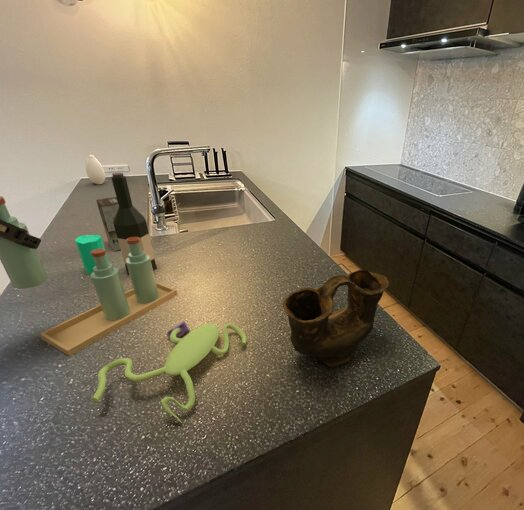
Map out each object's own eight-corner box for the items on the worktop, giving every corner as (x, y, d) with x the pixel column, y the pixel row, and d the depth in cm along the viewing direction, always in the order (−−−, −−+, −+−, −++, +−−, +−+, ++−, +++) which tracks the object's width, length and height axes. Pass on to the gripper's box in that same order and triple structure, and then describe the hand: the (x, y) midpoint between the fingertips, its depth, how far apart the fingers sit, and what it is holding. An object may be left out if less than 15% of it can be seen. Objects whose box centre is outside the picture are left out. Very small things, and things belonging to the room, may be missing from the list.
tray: (70, 357, 63) (67, 350, 63) (42, 340, 67) (39, 333, 66) (177, 295, 85) (176, 289, 84) (152, 285, 89) (151, 279, 88)
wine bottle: (147, 261, 100) (125, 168, 86) (163, 269, 97) (142, 174, 83) (120, 271, 94) (91, 173, 80) (135, 280, 90) (108, 179, 76)
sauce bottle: (107, 185, 169) (97, 151, 161) (89, 186, 165) (79, 151, 157) (108, 181, 175) (99, 149, 167) (91, 182, 171) (81, 149, 163)
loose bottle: (10, 291, 59) (-33, 204, 51) (15, 279, 63) (-24, 195, 55) (46, 284, 62) (10, 200, 54) (49, 273, 66) (16, 193, 58)
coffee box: (135, 246, 108) (124, 203, 101) (113, 251, 104) (100, 206, 97) (128, 238, 114) (117, 196, 107) (107, 242, 110) (94, 199, 103)
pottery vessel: (360, 319, 82) (369, 253, 73) (388, 343, 74) (402, 274, 65) (275, 356, 68) (272, 281, 59) (299, 391, 60) (301, 311, 51)
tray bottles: (113, 323, 73) (92, 258, 65) (100, 316, 75) (77, 252, 67) (163, 296, 84) (150, 237, 76) (150, 290, 85) (135, 232, 77)
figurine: (82, 407, 54) (72, 386, 52) (189, 318, 77) (186, 300, 75) (169, 442, 50) (162, 420, 47) (254, 336, 73) (253, 318, 70)
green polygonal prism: (81, 271, 92) (67, 235, 86) (100, 263, 97) (89, 228, 92) (96, 276, 91) (83, 239, 85) (115, 266, 96) (104, 231, 90)
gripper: (-42, 183, 45) (65, 229, 61) (-120, 172, 46) (4, 220, 62) (-72, 230, 42) (47, 265, 58) (-153, 217, 44) (-16, 254, 60)
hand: (24, 242), depth 60 cm, fingers closed on loose bottle, 5 cm apart
